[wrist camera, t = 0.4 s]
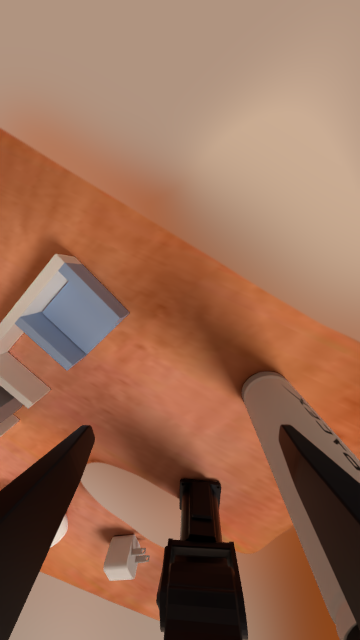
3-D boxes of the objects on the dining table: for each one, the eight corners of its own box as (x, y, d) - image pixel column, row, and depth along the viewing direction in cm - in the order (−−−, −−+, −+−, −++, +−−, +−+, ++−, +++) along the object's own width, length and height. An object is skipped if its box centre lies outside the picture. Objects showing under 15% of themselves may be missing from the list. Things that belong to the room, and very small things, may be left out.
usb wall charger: (112, 534, 33) (102, 568, 29) (146, 531, 32) (140, 565, 29) (120, 548, 34) (111, 582, 30) (153, 545, 33) (148, 580, 29)
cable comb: (15, 423, 28) (-5, 440, 25) (-33, 385, 27) (-60, 398, 24) (129, 312, 22) (120, 318, 19) (74, 256, 21) (55, 253, 18)
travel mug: (254, 419, 25) (481, 942, 5) (232, 383, 23) (419, 883, 4) (298, 401, 23) (792, 990, 4) (277, 362, 22) (823, 925, 3)
